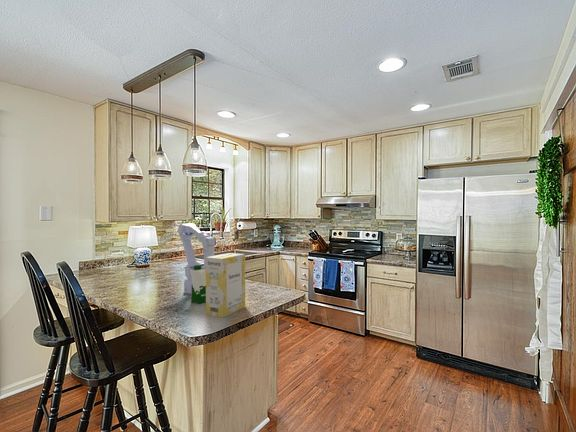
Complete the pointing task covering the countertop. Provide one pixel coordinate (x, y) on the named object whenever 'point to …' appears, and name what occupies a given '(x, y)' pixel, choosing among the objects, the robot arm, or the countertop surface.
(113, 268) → the countertop surface
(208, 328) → the countertop surface
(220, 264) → the pasta box
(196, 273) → the soya milk
